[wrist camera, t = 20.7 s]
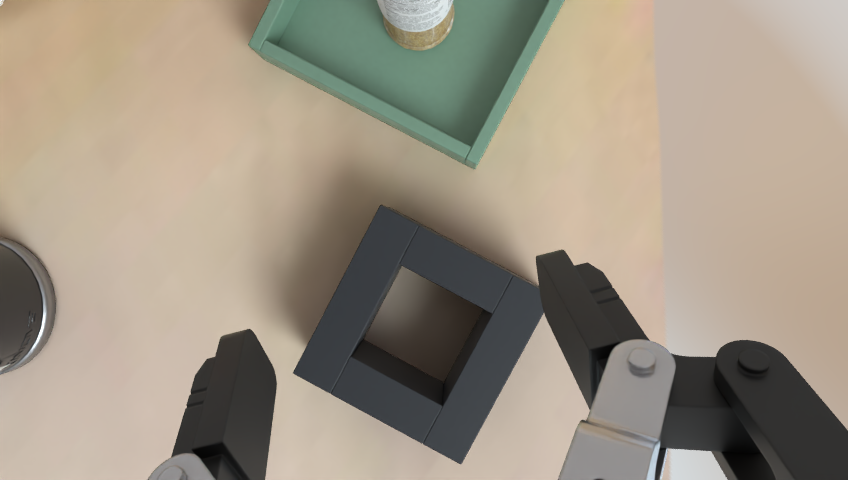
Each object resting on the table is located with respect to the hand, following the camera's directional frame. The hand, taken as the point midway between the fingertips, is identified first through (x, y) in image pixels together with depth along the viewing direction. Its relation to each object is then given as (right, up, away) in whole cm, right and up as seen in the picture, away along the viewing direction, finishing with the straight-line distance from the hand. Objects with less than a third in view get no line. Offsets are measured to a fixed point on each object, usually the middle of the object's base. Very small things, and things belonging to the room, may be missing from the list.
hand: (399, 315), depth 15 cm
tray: (0, +16, +20) cm, 25 cm away
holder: (+1, -3, +20) cm, 20 cm away
